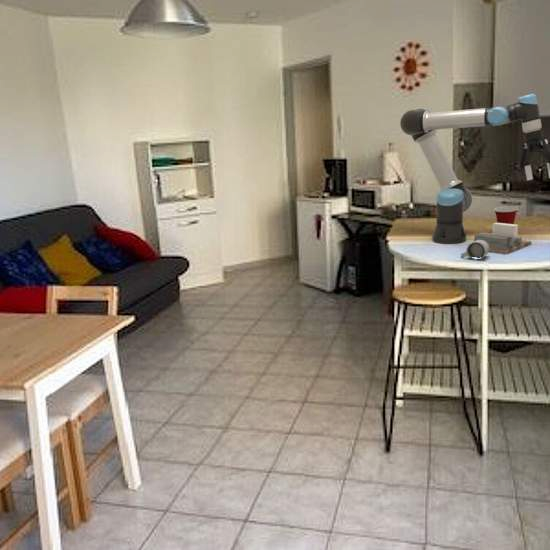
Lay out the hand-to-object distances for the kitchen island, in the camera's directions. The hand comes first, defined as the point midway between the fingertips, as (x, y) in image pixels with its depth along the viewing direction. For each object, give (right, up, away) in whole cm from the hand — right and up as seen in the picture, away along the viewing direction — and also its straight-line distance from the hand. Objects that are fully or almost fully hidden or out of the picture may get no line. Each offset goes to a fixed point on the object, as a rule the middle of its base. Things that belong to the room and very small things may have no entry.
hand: (540, 178), depth 252 cm
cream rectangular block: (-17, -28, -2) cm, 33 cm away
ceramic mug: (-36, -36, -17) cm, 53 cm away
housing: (-19, -30, -3) cm, 36 cm away
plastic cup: (-6, -22, +24) cm, 33 cm away
